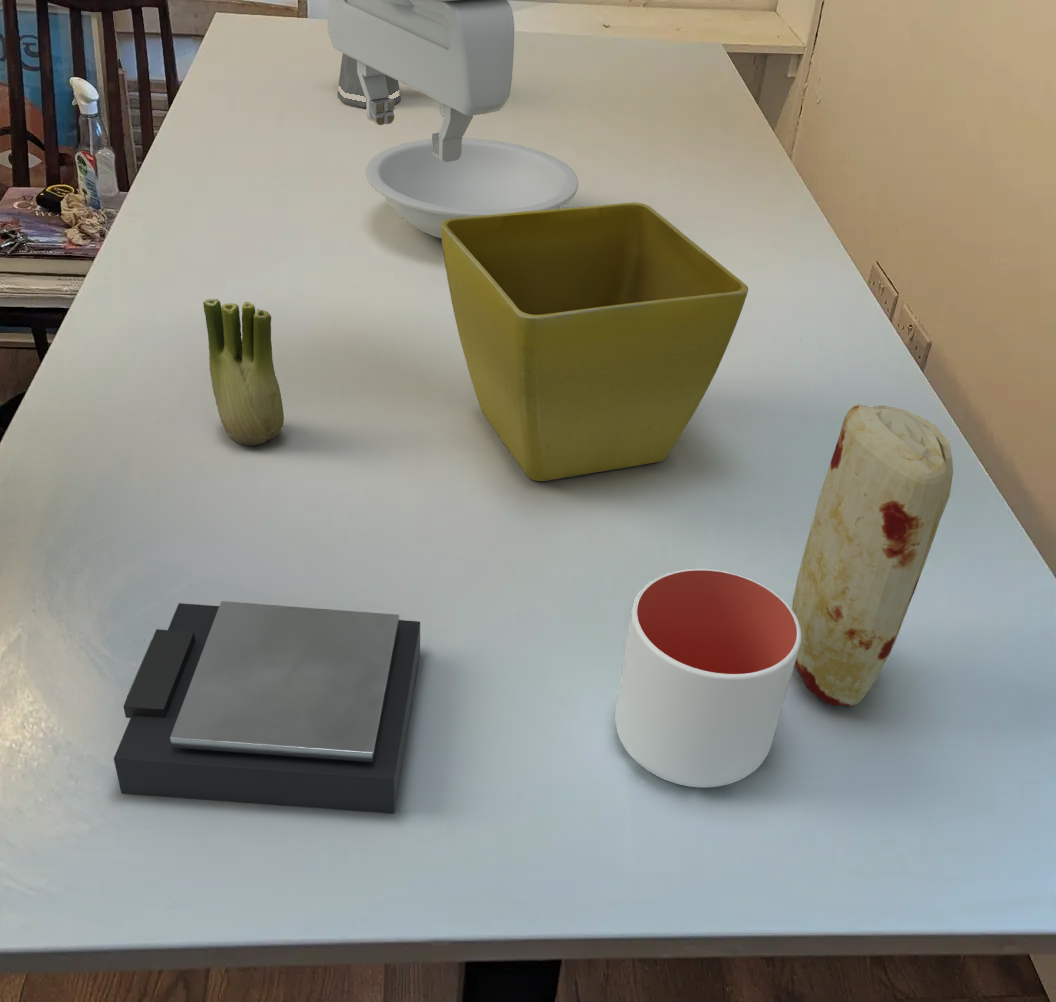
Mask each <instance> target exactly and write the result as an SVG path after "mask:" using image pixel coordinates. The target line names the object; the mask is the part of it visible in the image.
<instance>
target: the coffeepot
mask: <svg viewBox="0 0 1056 1002" xmlns="http://www.w3.org/2000/svg"><path fill="white" fill-rule="evenodd" d="M338 78H339V79H338V86H340V87H341V89H342V90H343V91H344V92H345V93H349V94H355V95H360V96H364V97H365V95H364V92H363V89H362V86H361V83H360V80H359V77H358V74H357V60H356V59H354V58H352V57H350V56H348V55H346V54H344V53H342V55H341V63H340V71H339V77H338ZM385 79H386V84H387V89H388V94H389V95H392V94H393V93H395V92H396V91H398V90H400V84H399V81H397V80H395V79H393V78H391V77H389V76H387V75H385ZM336 94H337V96H338V98H339V101H340V102H341V103H343V104H345V105H347V106H350V107H354V108H360V109H366V102H362V101H357V100H352V99H348V98H344V97H343V96H342V95H341V94H340V92H339V91H338V90H337V93H336ZM392 100H394V106H396V105H398V103H399V102H400V101H401V100H402V96H401V95H400V96H398V97H396V98H394V99H392Z"/></svg>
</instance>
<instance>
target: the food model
mask: <svg viewBox="0 0 1056 1002" xmlns="http://www.w3.org/2000/svg"><path fill="white" fill-rule="evenodd" d="M951 449H952V448H951V444H950V441H948V439H947V438H946V437H945V435H944V434H943V432H941V431H940V428H938V427H937V426H936V424H933V423H932V422H931V421H929V420H928V419H925V418H924V417H921V416H920V415H917V414H915V413H912V412H910V411H907V410H905V409H901V408H896V407H893V406H888V405H875V406H867V405H863V404H859V403H857V404H855V405H853V406H852V407H851V408H850V409H849V410H848V411H847V413H846V414H845V416H844V419H843V422H842V425H841V429H840V432H839V435H838V438H837V442H836V444H835V448H834V451H833V454H832V457H831V460H830V463H829V466H828V469H827V472H826V475H825V478H824V481H823V484H822V487H821V490H820V493H819V497H818V500H817V503H816V508H815V511H814V514H813V518H812V522H811V525H810V529H809V533H808V537H807V540H806V544H805V547H804V550H803V555H802V558H801V563H800V567H799V570H798V573H797V578H796V583H795V586H794V592H793V597H792V604H791V609H792V610H793V612H794V613H795V615H796V617H797V619H798V621H799V625H800V629H801V644H800V647H799V651H798V654H797V658H796V661H795V665H794V667H795V669H796V671H797V672H798V675H799V676H800V679H801V680H802V681H803V683H804V685H805V687H806V689H808V690H809V691H810V692H811V693H812V694H813V695H814V696H815V697H817V699H818V700H820V701H822V702H824V703H825V704H827V705H829V706H844V707H852V706H856V705H857V704H859V703H861V701H863V700H864V698H865V696H866V695H867V694H868V692H870V690H871V688H872V687H873V686H874V684H875V682H876V681H877V679H878V677H879V675H880V673H881V672H882V670H883V668H884V666H885V663H886V662H887V660H888V658H889V657H890V654H891V652H892V650H893V648H894V646H895V643H896V641H897V638H898V636H899V634H900V630H901V628H902V625H903V623H904V620H905V617H906V614H907V612H908V609H909V607H910V604H911V602H912V599H913V596H914V594H915V591H916V590H917V586H918V583H919V580H920V578H921V575H922V572H923V570H924V566H925V564H926V561H927V559H928V555H929V553H930V550H931V547H932V545H933V542H934V539H935V536H936V534H937V531H938V528H939V525H940V522H941V519H942V517H943V514H944V512H945V509H946V507H947V505H948V502H949V499H950V496H951V490H952V483H953V475H954V464H953V463H954V462H953V455H952V450H951Z"/></svg>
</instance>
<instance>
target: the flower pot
mask: <svg viewBox="0 0 1056 1002" xmlns="http://www.w3.org/2000/svg"><path fill="white" fill-rule="evenodd" d="M440 224H441V237H442V239H441V246H442V251H443V252H442V253H443V258H444V259H443V260H444V266H445V272H446V278H447V284H448V288H449V295H450V299H451V306H452V309H453V315H454V320H455V323H456V328H457V332H458V336H459V341H460V344H461V348H462V352H463V355H464V359H465V362H466V366H467V370H468V373H469V376H470V379H471V383H472V386H473V390H474V393H475V396H476V399H477V401H478V404H479V407H480V411H481V412H482V414H483V416H484V417H485V419H486V420H487V421H488V422H489V424H490V426H491V427H492V429H493V430H494V432H495V433H496V434H497V436H498V437H499V438H500V441H501V442H502V443H503V444H504V446H505V447H506V448H507V450H508V451H509V453H510V454H511V455H512V457H513V458H514V460H515V462H516V463H517V464H518V465H519V467H520V469H521V470H522V471H523V473H524V474H525V475H526V477H527V478H528V479H530V480H532V481H536V482H546V481H547V482H548V481H552V480H558V479H564V478H570V477H577V476H582V475H583V476H584V475H588V474H595V473H601V472H607V471H612V470H619V469H625V468H631V467H635V466H643V465H648V464H654V463H659V462H662V461H664V460H665V459H666V458H667V456H668V454H669V453H670V452H671V451H672V449H673V447H674V446H675V445H676V443H677V442H678V440H679V438H680V437H681V435H682V433H683V432H684V430H685V429H686V428H687V426H688V424H689V422H690V421H691V419H692V418H693V416H694V414H695V412H696V411H697V409H698V407H699V406H700V404H701V402H702V400H703V398H704V397H705V395H706V393H707V391H708V389H709V387H710V385H711V383H712V381H713V379H714V377H715V375H716V373H717V371H718V368H719V366H720V364H721V362H722V359H723V358H724V355H725V353H726V351H727V349H728V347H729V344H730V341H731V338H732V336H733V334H734V332H735V329H736V326H737V324H738V321H739V318H740V316H741V314H742V311H743V308H744V305H745V302H746V299H747V296H748V292H749V286H748V285H747V284H745V282H743V280H741V279H740V278H738V277H737V276H736V275H735V274H734V273H732V271H729V270H728V269H727V267H725V266H723V264H721V263H720V262H718V260H716V259H715V258H714V257H713V256H712V255H710V254H709V253H708V252H707V251H706V250H704V249H703V248H702V247H700V246H699V245H698V244H697V243H696V242H694V241H693V240H691V239H690V238H689V237H688V236H687V235H685V233H683V232H682V231H681V230H680V229H678V228H677V227H676V226H675V225H674V224H672V223H671V222H670V221H669V220H667V218H665V217H664V216H662V215H661V214H660V213H659V212H657V211H656V210H655V209H654V208H653V207H651V206H650V205H648V204H645V203H642V202H622V203H610V204H609V203H608V204H597V205H586V206H575V207H574V206H573V207H563V208H561V207H560V208H557V209H548V210H536V211H525V212H515V213H503V214H492V215H481V216H470V217H459V218H450V219H446V220H443V221H442V222H441V223H440Z"/></svg>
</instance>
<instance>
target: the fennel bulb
mask: <svg viewBox="0 0 1056 1002" xmlns="http://www.w3.org/2000/svg"><path fill="white" fill-rule="evenodd" d="M202 304H203V312H204V316H205V325H206V329H207V339H208V360H209V363H208V365H209V372H210V380H211V385H212V391H213V396H214V400H215V403H216V407H217V412H218V415H219V418H220V421H221V424H222V426H223V428H224V430H225V432H226V434H227V435H228V437H229V439H230V440H232V441H233V442H235V443H236V444H239V445H244V446H257V445H258V446H259V445H262V444H264V443H265V442H267V441H270V440H272V439H274V438H275V437H277V435H278V434H280V433H281V432H282V430H283V428H284V421H285V414H284V408H283V406H284V405H283V399H282V393H281V388H280V385H279V382H278V379H277V376H276V371H275V367H274V366H275V365H274V361H273V346H272V316H271V314H270V313H269V312H268V311H267V310H264V309H260V308H257V309H256V307H255V305H254V304H253V303H251V302H249V301H244V302H243V304H242V306H241V315H240V306H239V305H238V304H237V303H234V302H233V303H224V304H221V301H220V300H219V299H218V298H208V299H205V300H204V301H203V303H202Z"/></svg>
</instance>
